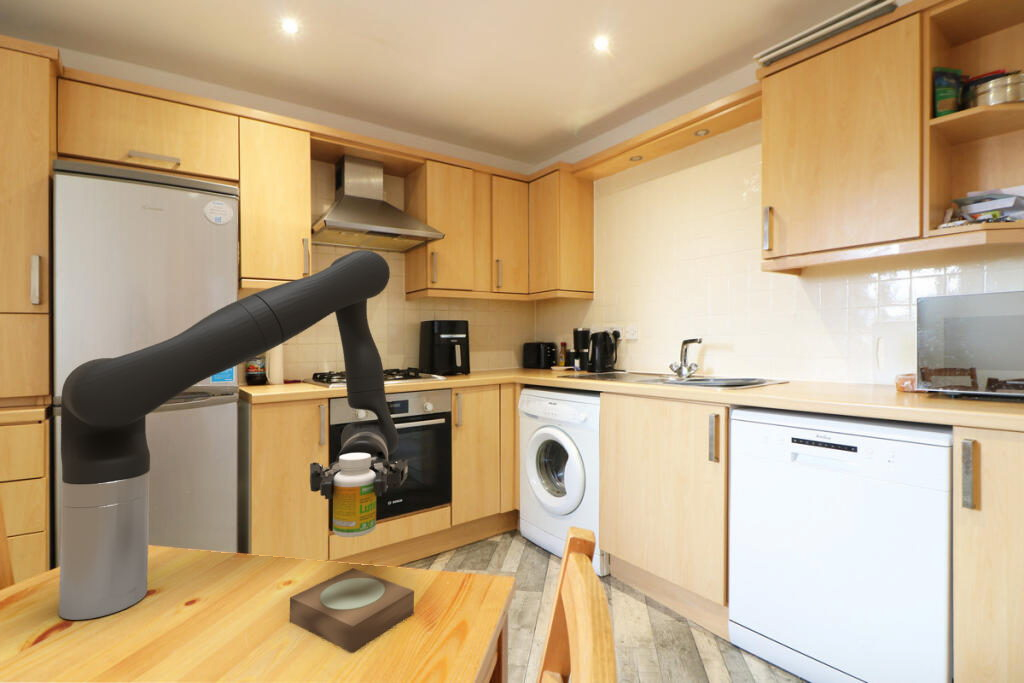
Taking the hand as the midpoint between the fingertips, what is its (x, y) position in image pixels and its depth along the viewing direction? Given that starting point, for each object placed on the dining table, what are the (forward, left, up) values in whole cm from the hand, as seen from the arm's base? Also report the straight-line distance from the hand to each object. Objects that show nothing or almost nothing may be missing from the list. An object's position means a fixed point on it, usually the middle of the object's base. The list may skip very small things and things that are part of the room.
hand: (353, 489), depth 61 cm
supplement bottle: (-2, +2, -6) cm, 7 cm away
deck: (-2, +2, -17) cm, 17 cm away
